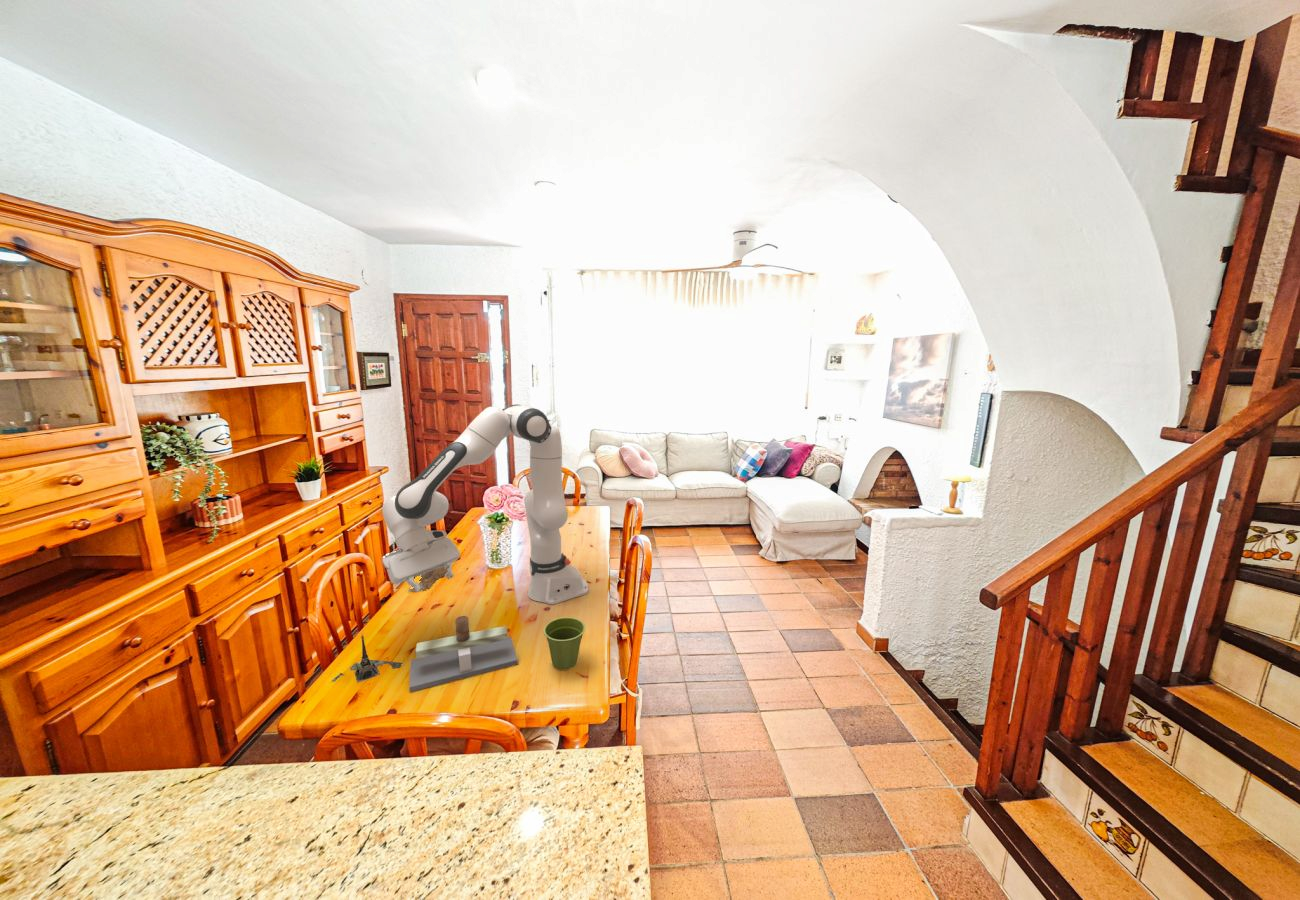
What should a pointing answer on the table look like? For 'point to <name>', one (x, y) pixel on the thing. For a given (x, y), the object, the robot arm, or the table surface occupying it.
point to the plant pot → (564, 641)
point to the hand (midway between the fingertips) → (436, 583)
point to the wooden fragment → (431, 578)
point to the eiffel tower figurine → (368, 666)
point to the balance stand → (461, 664)
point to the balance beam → (461, 639)
